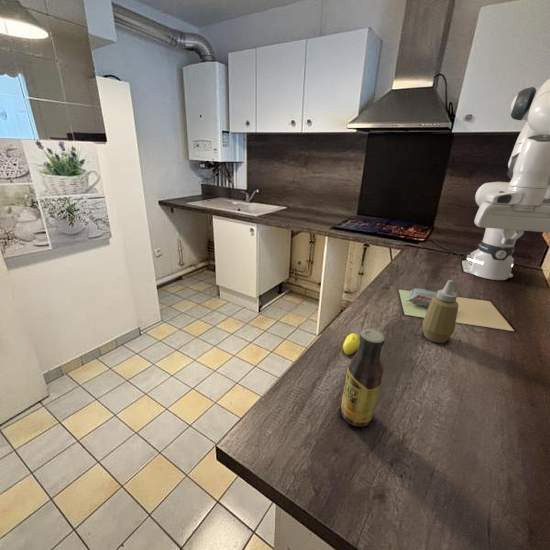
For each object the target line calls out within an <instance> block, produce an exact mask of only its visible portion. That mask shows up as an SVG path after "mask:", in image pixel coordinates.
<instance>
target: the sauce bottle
mask: <svg viewBox="0 0 550 550" xmlns="http://www.w3.org/2000/svg"><path fill="white" fill-rule="evenodd" d="M359 337H360V338H359V339H360V344H359V348H358V349H357V351H356V352H355V354H354V356H353V357H352V359H351V360H350V362H349V363H348V365H347V369H346V376H345V381H344V386H343V391H342V398H341V405H340V407H341V409H340V413H341V416H342V418H343V419H344V420H345V421H346V422H347V424H349V425H350V426H354V427H359V428H362V427H366V426H368V425H369V424H370V423H371V422H372V421H373V417H374V413H375V409H376V405H377V401H378V397H379V393H380V389H381V385H382V379H383V374H384V365H383V363H382V359H381V353H382V348H383V346H384V344H385V340H386V338H385V335H384V334H383V333H382V332H381V331H379V330H377V329H375V328H365V329H363V330H362V331H361V332H360V334H359Z"/></svg>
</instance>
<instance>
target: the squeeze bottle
mask: <svg viewBox="0 0 550 550" xmlns="http://www.w3.org/2000/svg"><path fill="white" fill-rule="evenodd" d="M437 292H438V293H437V296H435V297H433V298H432V300H431V302H430V305H429V307H428V310H427V312H426V315H425V318H423V320H422V323H421V324H422V331H423V335H424V337H425V338H426V339H427V340H428V341H431V342H433V343H437V344H444V343H446V342H447V341H448V340H449V339H450V338H451V336H452V335H453V334H454V333H455V329H456V328H455V326H456V317H457V311H458V303H457V302H456V298H457V297H458V294H457V293H456V292H455V291H454V280H453V279H447V282H446V284H445V285H444V287H443V288H442V289H439V290H437Z"/></svg>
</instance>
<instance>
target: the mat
mask: <svg viewBox="0 0 550 550" xmlns="http://www.w3.org/2000/svg"><path fill="white" fill-rule="evenodd" d="M409 291H410V290H405V289H398V293H399V297H400V301H401V305H402V309H403V314H404V316H410V317H416V318H423V319H424V318H425V315H426V312H427V310H428V307H425V306H421V305H417V304H413V303H411V302H410V301H405V300H406V299H407V298H409V297H410V296H411V295H410V294H409ZM456 302H457V303H458V311H457V317H456V323H457V324H463V325H470V326H476V327H481V328H489V329H496V330H501V331H509V332H515V330H514V329H513V327H512V326H511V325H510V324H509V323H508V321H507V320H506V319H505V318H504V316H502V314H501V313H500V311H498V309H497V308H496V307H495V305H493V303H492V302H491V301H490V300H483V299H476V298H468V297H461V296H460V297H459V296H457V298H456ZM456 323H455V324H456Z"/></svg>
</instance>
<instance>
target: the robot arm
mask: <svg viewBox="0 0 550 550" xmlns="http://www.w3.org/2000/svg"><path fill="white" fill-rule="evenodd" d="M509 108H510V109H509V112H510V117H511V118H512V120H516V121H526V122H525V124H524V125H523V127H522V129H521V131H520V132H519V135H518V136H517V139H516V141H515V144H514V146H513V149H512V152H511V155H510V157H509V160H508V163H507V167H508V171H507V172H506V176H507V177H508V178H509V179H510V181H509V182H508V181H507V182H506V181H492V182H484V183H483V184H482V185H480V186H479V187H478V189H477V190H476V192H475V195H474V200H475V204H476V205H477V206H478V210H477V212H476V214H475V217H474V220H473V223H474V224H475V226H476V227H478V228H483V229H485V231H484V234H483V238H482V240H481V241H480V243H479V244H478V247H477V248H476V249H475V250H474V251H466V252H465V254H464V255H463V257H462V256H461V254H460V253H459V252H456V251H455V250H452V249H450V248H448V247H446V246H444V245H442V244H441V243H439V242H438V241H436V239H434V238H433V237H431V238H432V239H433V240H432V239H431V238H429V240H430V241H431V240H432V242H433V243H435V244H436V245H437V246H439V247H440V248H443V249H445V250H446V251H449V252H451V253H453V254H456V255H457V256H458V257H459V258H460V259H461V260H462V261H461V265H462V270H463V272H464V273H467V274H471V275H473V276H476V277H478V278H479V277H480V278H483V279H486V280H487V279H488V280H492V281H506V280H508V279H509V278H510V279H511V278H513V277H514V274H513V273H512V268H513V266H514V260H515V259H514V257H513V256H512V255H513V254H514V252H515V248H516V247H515V245H516V243H517V240H518V239H519V238H521V237H522V236H523V235H524V234H525V232H536V233H547V234H548V233H549V234H550V78H549V79H547V80H546V81H544V83H543V84H542V85H541V86H537V87H534V86H531V87H525V88H523V89H522V90H520V91H519V92H518V93H517V94H516V95H515V97H514V98H513V100H512V102H511V105H510V107H509Z"/></svg>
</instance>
